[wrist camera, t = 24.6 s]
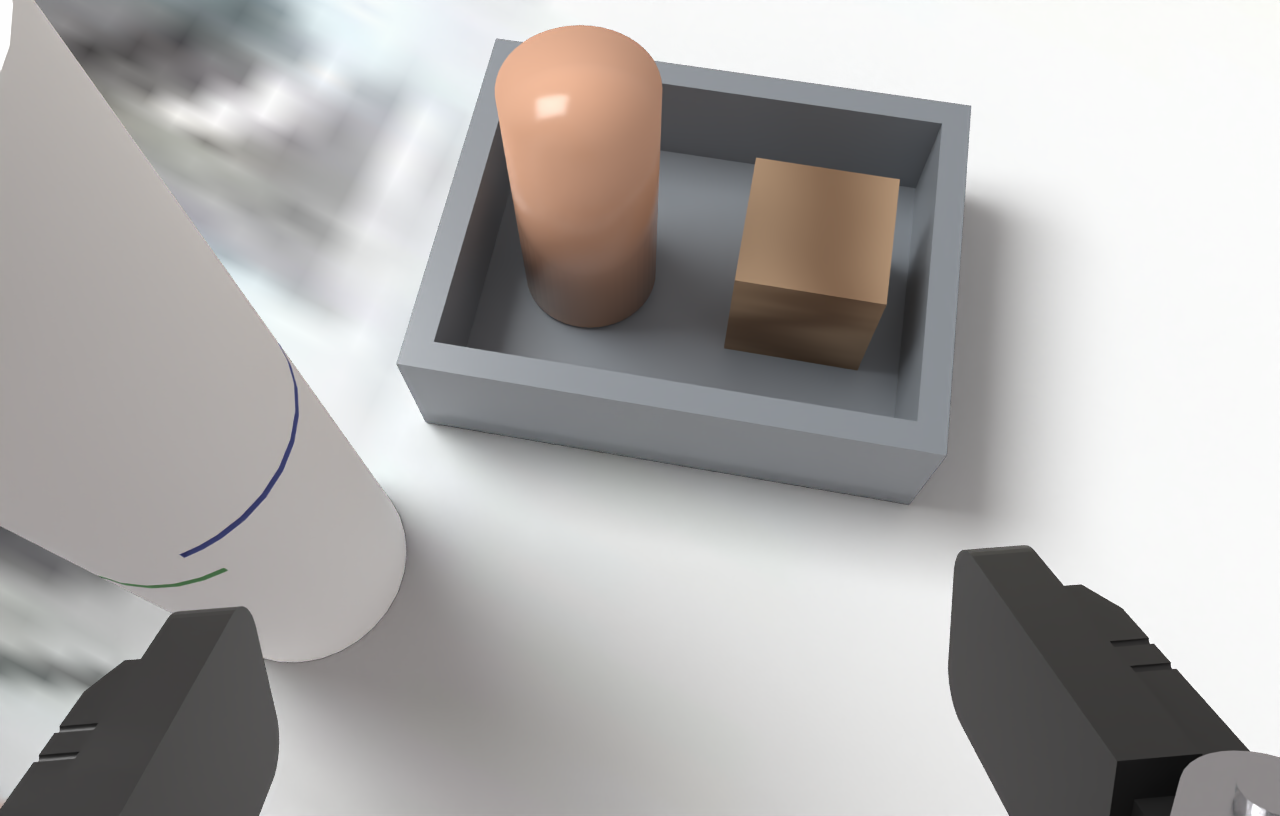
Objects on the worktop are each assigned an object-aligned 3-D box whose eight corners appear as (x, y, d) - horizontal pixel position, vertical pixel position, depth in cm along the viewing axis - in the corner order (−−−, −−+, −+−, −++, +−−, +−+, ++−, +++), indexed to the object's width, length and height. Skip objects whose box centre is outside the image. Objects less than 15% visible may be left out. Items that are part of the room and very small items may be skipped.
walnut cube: (723, 348, 39) (734, 280, 34) (743, 236, 41) (755, 157, 36) (857, 370, 38) (886, 304, 34) (870, 256, 40) (899, 179, 36)
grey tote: (425, 421, 39) (396, 363, 34) (511, 123, 44) (496, 38, 39) (909, 504, 37) (946, 455, 33) (935, 186, 43) (970, 105, 38)
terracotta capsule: (509, 311, 39) (471, 134, 30) (547, 206, 41) (523, 11, 32) (637, 340, 39) (637, 170, 30) (669, 233, 41) (679, 43, 32)
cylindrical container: (445, 578, 36) (105, 101, 13) (266, 706, 34) (-483, 414, 12) (340, 428, 38) (-108, -201, 15) (167, 541, 37) (-625, 23, 14)
